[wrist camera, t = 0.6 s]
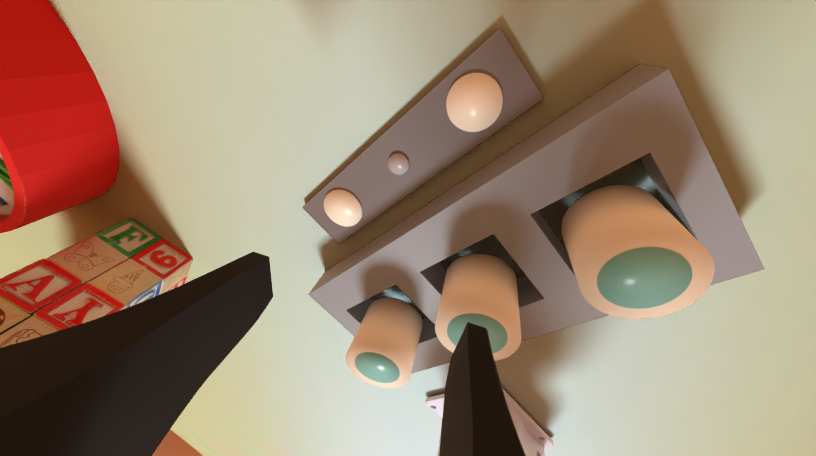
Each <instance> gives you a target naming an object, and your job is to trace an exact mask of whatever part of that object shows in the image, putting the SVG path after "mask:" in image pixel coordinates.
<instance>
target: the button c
mask: <svg viewBox="0 0 816 456" xmlns="http://www.w3.org/2000/svg"><path fill="white" fill-rule="evenodd" d="M561 233H562V237H563V240H564V243H565V246H566V249H567V252H568V255H569V258H570V261H571V264H572V267H573V270H574V273H575V276H576V279H577V282H578V285H579V288H580V291H581V294H582V295H583V297H584V298H585V300H586V301H587V302H588V303H589V304H590V305H592V306H593V307H594V308H596V309H597V310H599V311H601V312H603V313H606V314H609V315H612V316H616V317H621V318H629V319H645V318H654V317H659V316H664V315H667V314H670V313H673V312H676V311H678V310H681V309H683V308H685V307H687V306H688V305H690V304H691V303H693V302H695V301H696V300H697V299H698V298H699V297H701V296H702V295H703V294H704V293H705V291H706V290H707V289H708V287H709V286H710V284H711V282H712V280H713V276H714V270H715V267H714V261H713V259H712V256H711V255H710V253H709V252H708V250H707V249H706V248H705V247H704V246H703V245H702V244H701V243H700V242H699V241H698V240H697V239H696V238H695V237H694V236H693V235H692V234H691V233H690V232H689V231H688V230H687V229H686V228H685V227H684V226H683V225H682V224H681V223H680V222H679V221H678V220H677V219H676V218H675V217H674V216H673V215H672V214H671V213H670V212H669V211H668V210H667V209H666V208H665V207H664V206H663V205H662V204H661V203H660V202H659V201H658V200H657V199H656V198H655V197H654V196H653V195H651V194H650V193H649V192H647V191H645V190H643V189H641V188H638V187H635V186H630V185H611V186H605V187H601V188H598V189H595V190H592V191H590V192H588V193H586V194H584V195H583V196H581V197H580V198H578V199H577V200H576V201H575V202H574V203H573V204H572V205H571V206H570V207H569V208H568V210H567V211H566V213H565V215H564V217H563V220H562V224H561Z"/></svg>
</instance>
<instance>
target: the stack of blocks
mask: <svg viewBox="0 0 816 456" xmlns="http://www.w3.org/2000/svg"><path fill="white" fill-rule="evenodd" d="M192 261H193V258H191V257H190V256H188V255H187V254H185V253H184V252H182V251H181V250H179V249H178V248H176V247H175V246H173V245H172V244H170V243H169V242H167V241H166V240H164V239H162V238H161V237H159V236H158V235H156V234H155V233H153V232H152V231H150V230H149V229H147V228H146V227H144V226H143V225H141V224H140V223H138V222H137V221H135V220H134V219H132V218H129V219H127V220H125V221H122V222H120V223H118V224H116V225H113V226H111V227H109V228H107V229H105V230H103V231H100V232H98V233H96V234H95V235H94V236H93V237H90V238H88V239H86V240H84V241H82V242H79V243H77V244H75V245H73V246H71V247H69V248H66V249H64V250H62V251H60V252H58V253H56V254H54V255H52V256H50V257H48V258H47V259H41V260H39V261H37V262H34V263H32V264H30V265H28V266H26V267H24V268H22V269H20V270H18V271H16V272H14V273H11V274H9V275H7V276H5V277H3V278H1V279H0V348H1V347H5V346H9V345H12V344H16V343H20V342H23V341H27V340H30V339H34V338H37V337H41V336H44V335H47V334H50V333H53V332H57V331H60V330H63V329H66V328H70V327H73V326H76V325H79V324H82V323H86V322H89V321H92V320H95V319H97V318H100V317H103V316H106V315H109V314H112V313H114V312H117V311H120V310H123V309H125V308H128V307H131V306H133V305H136V304H138V303H141V302H143V301H146V300H148V299H150V298H153V297H155V296H158V295H160V294H162V293H165V292H167V291H169V290H172V289H174V288H176V287H179V286H181V285H183V284H184V283H185V280H186V277H187V275H188V272H189V270H190V267H191V264H192Z"/></svg>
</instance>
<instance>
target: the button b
mask: <svg viewBox="0 0 816 456" xmlns="http://www.w3.org/2000/svg"><path fill="white" fill-rule="evenodd" d="M467 322H469V323H472V324H475V325H478V326H481V327H484V328H486V329H487V331H488V335H489V340H490V344H491V349H492V353H493V357H494V361H497V360H501V359H504V358H506V357H509V356H510V355H512V354H513V353H514V352H515V351H516V350H517V349H518V348H519V346H520V343H521V327H520V315H519V303H518V291H517V279H516V275H515V273H514V271H513V270H512V268H511V267H510V266H509V265H508V264H507V263H506V262H504V261H503V260H501V259H499V258H497V257H495V256H492V255H488V254H481V253H475V254H468V255H464V256H462V257H460V258H458V259H456V260H455V261H454V262H452V264H451V265H450V266H449V267H448V270H447V272H446V276H445V281H444V286H443V290H442V295H441V300H440V304H439V309H438V314H437V318H436V323H435V332H436V335H437V337H438V339H439V341H440V342H441V343H442V345H443V346H444V347H446V348H447V349H448V350H449V351H451V352H452V353H453V352H454V350H455V348H456V346H457V344H458V342H459V339H460V337H461V335H462V333H463V331H464V329H465V327H466V324H467Z"/></svg>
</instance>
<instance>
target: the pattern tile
mask: <svg viewBox="0 0 816 456" xmlns="http://www.w3.org/2000/svg"><path fill="white" fill-rule="evenodd" d="M542 99H543V96H542V95H541V93H540V91H539V90H538V88H537V87H536V85H535V83H534V82H533V80H532V79H531V77H530V75H529V74H528V72H527V71H526V69H525V67H524V66H523V64H522V63H521V61H520V59H519V58H518V56H517V55H516V53H515V51H514V50H513V48H512V47H511V45H510V43H509V42H508V40H507V39H506V37H505V35H504V34H503V32H502V31H501V29H500V28H499V29H498V30H497V31H496V32H495V33H494V34H493V35H492V36H491V37H489V38H488V39H487V40H486V41H485V42H484V43H483V44H482V45H481V46H480V47H478V48H477V49H476V50H475V51H474V52H473V53H472V54H471V55H470V56H468V57H467V58H466V59H465V60H464V61H463V62H462V63H461V64H460V65H459V66H457V67H456V68H455V69H454V70H453V71H452V72H451V73H450V74H449V75H448V76H446V77H445V78H444V79H443V80H442V81H441V82H440V83H439V84H438V85H436V86H435V87H434V88H433V89H432V90H431V91H430V92H429V93H428V94H427V95H425V96H424V97H423V98H422V99H421V100H420V101H419V102H418V103H417V104H416V105H414V106H413V107H412V108H411V109H410V110H409V111H408V112H407V113H406V114H404V115H403V116H402V117H401V118H400V119H399V120H398V121H397V122H396V123H395V124H393V125H392V126H391V127H390V128H389V129H388V130H387V131H386V132H385V133H384V134H382V135H381V136H380V137H379V138H378V139H377V140H376V141H375V142H374V143H372V144H371V145H370V146H369V147H368V148H367V149H366V150H365V151H364V152H363V153H361V154H360V155H359V156H358V157H357V158H356V159H355V160H354V161H353V162H352V163H350V164H349V165H348V166H347V167H346V168H345V169H344V170H343V171H342V172H340V173H339V174H338V175H337V176H336V177H335V178H334V179H333V180H332V181H331V182H329V183H328V184H327V185H326V186H325V187H324V188H323V189H322V190H321V191H320V192H318V193H317V194H316V195H315V196H314V197H313V198H312V199H311V200H310V201H308V202H307V203H306V204H305V205H304V206H303V207H302V208H303V209H304V210H305V211H306V212H307V213H308V214H309V215H310V216H311V217H312V218H313V219H314V220H315V221H316V222H317V223H318V224H319V225H320V226H321V227H322V228H323V229H324V230H325V231H326V232H327V233H328V234H329V235H330V236H331V237H332V238H333V239H334V240H335V241H336V242H337V243H338V244H340V243H341V242H343V241H344V240H345V239H347V238H348V237H350V236H351V235H352V234H354V233H355V232H357V231H358V230H359V229H361V228H362V227H364V226H365V225H366V224H368V223H369V222H371V221H372V220H373V219H375V218H376V217H378V216H379V215H380V214H382V213H383V212H385V211H386V210H387V209H389V208H390V207H392V206H393V205H395V204H396V203H397V202H399V201H400V200H402V199H403V198H404V197H406V196H407V195H409V194H410V193H411V192H413V191H414V190H416V189H417V188H418V187H420V186H421V185H423V184H424V183H425V182H427V181H428V180H430V179H431V178H432V177H434V176H435V175H437V174H438V173H439V172H441V171H442V170H444V169H445V168H446V167H448V166H449V165H451V164H452V163H453V162H455V161H456V160H458V159H459V158H461V157H462V156H463V155H465V154H466V153H468V152H469V151H470V150H472V149H473V148H475V147H476V146H477V145H479V144H480V143H482V142H483V141H484V140H486V139H487V138H489V137H490V136H491V135H493V134H494V133H496V132H497V131H498V130H500V129H501V128H503V127H504V126H505V125H507V124H508V123H510V122H511V121H512V120H514V119H515V118H517V117H518V116H519V115H521V114H522V113H524V112H525V111H526V110H528V109H529V108H531V107H532V106H534V105H535V104H536V103H538V102H539V101H541V100H542Z"/></svg>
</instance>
